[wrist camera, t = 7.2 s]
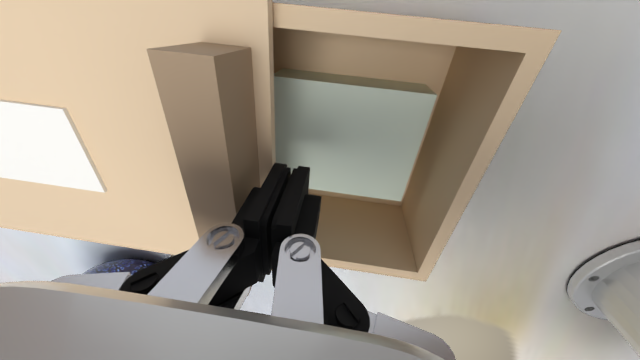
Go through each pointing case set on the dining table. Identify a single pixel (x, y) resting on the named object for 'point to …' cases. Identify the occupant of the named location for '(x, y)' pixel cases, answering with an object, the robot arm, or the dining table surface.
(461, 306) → the dining table surface
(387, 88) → the box
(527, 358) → the dining table surface
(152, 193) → the lid
